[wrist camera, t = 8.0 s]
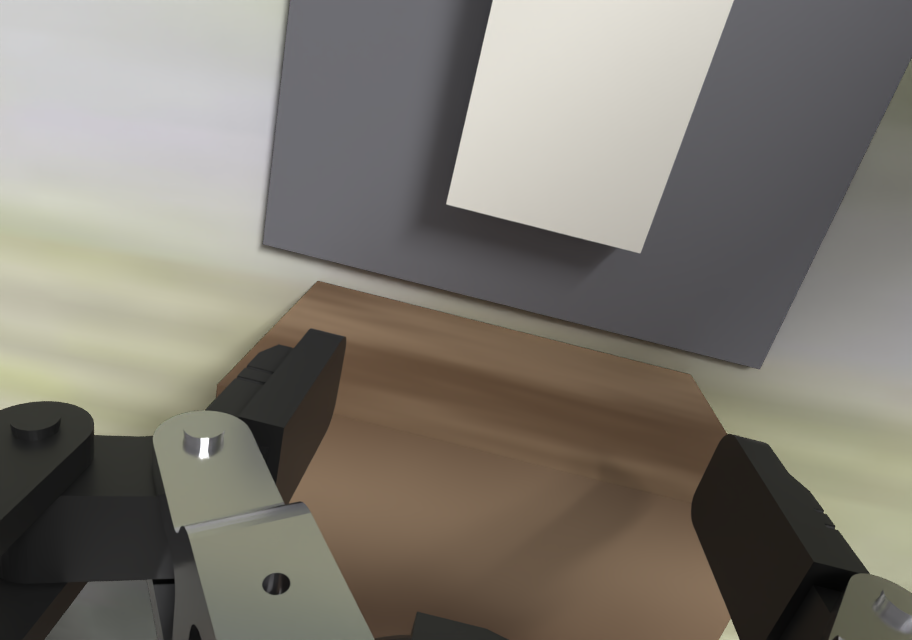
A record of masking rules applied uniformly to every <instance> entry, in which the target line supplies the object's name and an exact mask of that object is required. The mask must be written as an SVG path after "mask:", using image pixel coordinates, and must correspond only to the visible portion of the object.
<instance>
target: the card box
mask: <svg viewBox="0 0 912 640" xmlns="http://www.w3.org/2000/svg"><path fill="white" fill-rule="evenodd" d="M733 1H734V0H493V2H492V6H491V10H490V15H489V19H488V24H487V28H486V32H485V37H484V41H483V45H482V50H481V54H480V58H479V63H478V67H477V72H476V76H475V80H474V85H473V89H472V93H471V98H470V102H469V107H468V111H467V115H466V120H465V124H464V128H463V133H462V137H461V141H460V146H459V150H458V155H457V159H456V163H455V168H454V172H453V176H452V181H451V185H450V190H449V194H448V198H447V203H446V204H447V205H451V206H455V207H459V208H463V209H467V210H470V211H474V212H478V213H482V214H486V215H490V216H494V217H498V218H502V219H506V220H510V221H514V222H518V223H522V224H526V225H530V226H534V227H538V228H542V229H546V230H549V231H553V232H557V233H561V234H565V235H569V236H573V237H577V238H581V239H585V240H589V241H593V242H597V243H601V244H605V245H609V246H613V247H617V248H621V249H625V250H629V251H632V252H636V253H641V251H642V248H643V245H644V243H645V240H646V237H647V234H648V232H649V229H650V226H651V224H652V221H653V218H654V216H655V213H656V210H657V207H658V205H659V202H660V199H661V197H662V194H663V191H664V188H665V186H666V183H667V180H668V178H669V175H670V172H671V169H672V167H673V164H674V161H675V159H676V156H677V153H678V150H679V148H680V145H681V142H682V140H683V137H684V134H685V132H686V129H687V126H688V123H689V121H690V118H691V115H692V113H693V110H694V107H695V104H696V102H697V99H698V96H699V94H700V91H701V88H702V85H703V83H704V80H705V77H706V75H707V72H708V69H709V67H710V64H711V61H712V58H713V56H714V53H715V50H716V48H717V45H718V42H719V39H720V37H721V34H722V31H723V29H724V26H725V23H726V20H727V18H728V15H729V12H730V10H731V7H732V4H733Z"/></svg>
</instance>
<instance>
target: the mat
mask: <svg viewBox="0 0 912 640" xmlns="http://www.w3.org/2000/svg"><path fill="white" fill-rule="evenodd" d="M492 2H493V0H290V5H289V14H288V23H287V32H286V41H285V50H284V59H283V68H282V77H281V86H280V95H279V104H278V113H277V122H276V131H275V140H274V149H273V158H272V167H271V176H270V185H269V194H268V203H267V212H266V221H265V230H264V239H263V244H264V245H268V246H272V247H276V248H280V249H284V250H288V251H292V252H296V253H300V254H304V255H308V256H312V257H316V258H320V259H324V260H328V261H332V262H336V263H340V264H344V265H348V266H351V267H355V268H359V269H363V270H367V271H371V272H375V273H379V274H383V275H387V276H391V277H395V278H399V279H403V280H407V281H411V282H415V283H419V284H423V285H427V286H431V287H435V288H439V289H443V290H447V291H451V292H455V293H459V294H463V295H467V296H471V297H475V298H479V299H483V300H486V301H490V302H494V303H498V304H502V305H506V306H510V307H514V308H518V309H522V310H526V311H530V312H534V313H538V314H542V315H546V316H550V317H554V318H558V319H562V320H566V321H570V322H574V323H578V324H582V325H586V326H590V327H594V328H598V329H602V330H606V331H610V332H614V333H617V334H621V335H625V336H629V337H633V338H637V339H641V340H645V341H649V342H653V343H657V344H661V345H665V346H669V347H673V348H677V349H681V350H685V351H689V352H693V353H697V354H701V355H705V356H709V357H713V358H717V359H721V360H725V361H729V362H733V363H737V364H741V365H745V366H749V367H752V368H756V369H760V368H761V366H762V364H763V362H764V360H765V358H766V356H767V353H768V351H769V349H770V347H771V345H772V343H773V341H774V339H775V337H776V335H777V333H778V331H779V329H780V327H781V325H782V323H783V321H784V319H785V317H786V315H787V312H788V310H789V308H790V306H791V304H792V302H793V300H794V298H795V296H796V294H797V292H798V290H799V288H800V286H801V284H802V282H803V280H804V278H805V276H806V274H807V271H808V269H809V267H810V265H811V263H812V261H813V259H814V257H815V255H816V253H817V251H818V249H819V247H820V245H821V243H822V241H823V239H824V237H825V235H826V232H827V230H828V228H829V226H830V224H831V222H832V220H833V218H834V216H835V214H836V212H837V210H838V208H839V206H840V204H841V202H842V200H843V198H844V196H845V194H846V191H847V189H848V187H849V185H850V183H851V181H852V179H853V177H854V175H855V173H856V171H857V169H858V167H859V165H860V163H861V161H862V159H863V157H864V155H865V153H866V150H867V148H868V146H869V144H870V142H871V140H872V138H873V136H874V134H875V132H876V130H877V128H878V126H879V124H880V122H881V120H882V118H883V116H884V114H885V112H886V109H887V107H888V105H889V103H890V101H891V99H892V97H893V95H894V93H895V91H896V89H897V87H898V85H899V83H900V81H901V79H902V77H903V75H904V73H905V71H906V68H907V66H908V64H909V62H910V60H911V58H912V0H734V1H733V4H732V7H731V10H730V12H729V15H728V18H727V20H726V23H725V26H724V29H723V31H722V34H721V37H720V39H719V42H718V45H717V48H716V50H715V53H714V56H713V58H712V61H711V64H710V67H709V69H708V72H707V75H706V77H705V80H704V83H703V85H702V88H701V91H700V94H699V96H698V99H697V102H696V104H695V107H694V110H693V113H692V115H691V118H690V121H689V123H688V126H687V129H686V132H685V134H684V137H683V140H682V142H681V145H680V148H679V150H678V153H677V156H676V159H675V161H674V164H673V167H672V169H671V172H670V175H669V178H668V180H667V183H666V186H665V188H664V191H663V194H662V197H661V199H660V202H659V205H658V207H657V210H656V213H655V216H654V218H653V221H652V224H651V226H650V229H649V232H648V234H647V237H646V240H645V243H644V245H643V248H642V251H641V253H636V252H632V251H629V250H625V249H621V248H617V247H613V246H609V245H605V244H601V243H597V242H593V241H589V240H585V239H581V238H577V237H573V236H569V235H565V234H561V233H557V232H553V231H549V230H546V229H542V228H538V227H534V226H530V225H526V224H522V223H518V222H514V221H510V220H506V219H502V218H498V217H494V216H490V215H486V214H482V213H478V212H474V211H470V210H467V209H463V208H459V207H455V206H451V205H447V204H446V203H447V198H448V194H449V190H450V185H451V181H452V176H453V172H454V168H455V163H456V159H457V155H458V150H459V146H460V141H461V137H462V133H463V128H464V124H465V120H466V115H467V111H468V107H469V102H470V98H471V93H472V89H473V85H474V80H475V76H476V72H477V67H478V63H479V58H480V54H481V50H482V45H483V41H484V37H485V32H486V28H487V24H488V19H489V15H490V10H491V6H492Z"/></svg>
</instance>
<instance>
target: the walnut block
mask: <svg viewBox="0 0 912 640" xmlns="http://www.w3.org/2000/svg"><path fill="white" fill-rule="evenodd" d="M310 328H313V329H317V330H321V331H325V332H329V333H333V334H337V335H341V336H345V337H346V349H345V355H344V360H343V366H342V371H341V377H340V382H339V388H338V394H337V399H336V404H335V409H334V412H333V416H332V419H331V422H330V425H329V427H328V430H327V432H326V434H325V436H324V438H323V439H322V441H321V443H320V445H319V447H318V449H317V451H316V453H315V455H314V456H313V458H312V460H311V462H310V464H309V466H308V468H307V470H306V472H305V474H304V475H303V477H302V479H301V481H300V483H299V485H298V487H297V489H296V491H295V492H294V494H293V496H292V498H291V500H290V502H289V503H294V502H299V501H301V502H303V503H304V504H306V506H307V507H308V508H309V510H310V512H311V514H312V516H313V518H314V520H315V522H316V524H317V526H318V528H319V530H320V532H321V534H322V536H323V538H324V540H325V542H326V544H327V546H328V548H329V550H330V552H331V554H332V556H333V558H334V560H335V562H336V564H337V566H338V568H339V570H340V571H341V573H342V575H343V577H344V579H345V581H346V583H347V585H348V587H349V589H350V591H351V593H352V595H353V597H354V599H355V601H356V603H357V605H358V607H359V609H360V611H361V613H362V615H363V617H364V619H365V621H366V623H367V625H368V627H369V629H370V631H371V633H372V635H373V637H374V638H378V637H384V636H392V635H410V634H411V630H412V627H413V623H414V620H415V616H416V613H417V612H421V613H425V614H429V615H434V616H438V617H442V618H446V619H450V620H454V621H458V622H462V623H466V624H470V625H474V626H478V627H482V628H486V629H488V630H490V631H492V632H494V633H496V634H498V635H500V636H502V637H504V638H507V639H509V640H719V638H720V636H721V635H722V633H723V631H724V629H725V628H726V626H727V624H728V622H729V621H730V619H731V617H730V615H729V612H728V610H727V607H726V605H725V602H724V600H723V597H722V595H721V593H720V590H719V588H718V585H717V583H716V580H715V578H714V575H713V573H712V571H711V568H710V566H709V563H708V561H707V558H706V556H705V553H704V551H703V548H702V546H701V544H700V541H699V539H698V536H697V534H696V531H695V529H694V526H693V524H692V520H691V505H692V499H693V496H694V493H695V491H696V489H697V487H698V485H699V483H700V481H701V479H702V476H703V474H704V472H705V470H706V468H707V466H708V464H709V462H710V460H711V458H712V456H713V454H714V452H715V450H716V448H717V445H718V444H719V442H720V440H721V439H722V438H723V437H724V436H725V435H727V433H726V431H725V430H724V428H723V426H722V425H721V423H720V422H719V420H718V418H717V417H716V415H715V413H714V412H713V410H712V408H711V407H710V405H709V404H708V402H707V400H706V399H705V397H704V395H703V394H702V392H701V390H700V389H699V387H698V386H697V384H696V382H695V381H694V379H693V377H692V376H691V375H690V374H686V373H682V372H678V371H674V370H670V369H666V368H662V367H658V366H654V365H650V364H646V363H642V362H638V361H634V360H630V359H626V358H622V357H618V356H614V355H610V354H606V353H602V352H598V351H594V350H590V349H586V348H582V347H578V346H574V345H570V344H567V343H563V342H559V341H555V340H551V339H547V338H543V337H539V336H535V335H531V334H527V333H523V332H519V331H515V330H511V329H507V328H503V327H499V326H495V325H491V324H487V323H483V322H479V321H475V320H471V319H467V318H463V317H459V316H455V315H451V314H447V313H443V312H439V311H435V310H431V309H427V308H423V307H419V306H415V305H412V304H408V303H404V302H400V301H396V300H392V299H388V298H384V297H380V296H376V295H372V294H368V293H364V292H360V291H356V290H352V289H348V288H344V287H340V286H336V285H332V284H328V283H324V282H320V281H317V282H316V283H315V284H314V285H313V286H312V287H311V288H310V290H309V291H308V292H307V293H306V294H305V295H304V296H303V297H302V298H301V299H300V300H299V301H298V302H297V303H296V304H295V305H294V306H293V307H292V308H291V309H290V310H289V311H288V312H287V313H286V314H285V315H284V316H283V317H282V318H281V319H280V320H279V321H278V323H277V324H276V325H275V326H274V327H273V328H272V329H271V330H270V331H269V332H268V333H267V334H266V335H265V336H264V337H263V338H262V339H261V340H260V341H259V342H258V343H257V344H256V345H255V346H254V347H253V348H252V349H251V350H250V351H249V352H248V353H247V354H246V355H245V357H244V358H243V359H242V360H241V361H240V362H239V363H238V364H237V365H236V366H235V367H234V368H233V369H232V370H231V371H230V372H229V373H228V374H227V375H226V376H225V377H224V378H223V379H222V380H221V381H220V382H219V383H218V384H217V392H216V398H217V397H218V396H219V395H220V394H221V393H222V392H223V390H224V389H225V388H226V387H227V386H228V385H229V384H230V383H231V382H232V381H233V380H234V379H235V378H237V375H238V374H239V373H240V372H241V371H242V370H243V369H244V368H246V367H247V365H248V364H249V363H250V361H251V360H252V359H253V358H254V357H255V356H256V355H257V354H258V353H259V352H261V351H264V350H266V349H269V348H271V347H273V346H276V345H278V344H280V345H284V346H288V347H292V348H294V347H295V346H296V345H297V344H298V342H299V341H300V340H301V339H302V337H303V336H304V335H305V334H306V332H307V331H308V330H309V329H310Z"/></svg>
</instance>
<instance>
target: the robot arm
mask: <svg viewBox="0 0 912 640" xmlns="http://www.w3.org/2000/svg"><path fill="white" fill-rule="evenodd" d="M345 349H346V337H345V336H341V335H337V334H333V333H329V332H325V331H321V330H317V329H313V328H310V329H309V330H308V331H307V332H306V334H305V335H304V336H303V337H302V339H301V340H300V341H299V342H298V344H297V345H296V346H295V347H294V348H292V347H288V346H284V345H280V344H278V345H276V346H273V347H271V348H269V349H266V350H264V351H261V352H259V353H258V354H257V355H256V356H255V357H254V358H253V359H252V360H251V361H250V363H249V364H248V365H247V367H246V368H244V369H243V370H242V371H241V372H240V373H239V374H238V375H237V378H235V379H234V380H233V381H232V382H231V383H230V384H229V385H228V386H227V387H226V388H225V389H224V390H223V392H222V393H221V394H220V395H219V396H218V397H217V398H216V399H215V400H214V401H213V402H212V403H211V404H210V405H209V407H208V408H207V409H206V410H205V411H192V412H186V413H182V414H179V415H176V416H173V417H171V418H169V419H167V420H166V421H164V422H163V423H162V424H160V425H159V427H158V428H157V429H156V430H155V432H154V435H153V436H146V437H131V436H102V435H94V422H93V418H92V417H91V415H90V414H89V413H88V412H87V411H85V410H84V409H82V408H80V407H78V406H75V405H72V404H68V403H62V402H52V401H41V402H30V403H24V404H19V405H15V406H11V407H8V408H5V409H2V410H0V640H44V639H45V638H46V636H47V635H48V634H49V632H50V631H51V630H52V629H53V627H54V626H55V625H56V623H57V622H58V621H59V619H60V618H61V617H62V615H63V614H64V613H65V611H66V610H67V609H68V607H69V606H70V605H71V603H72V602H73V601H74V599H75V598H76V597H77V595H78V594H79V593H80V591H81V590H82V589H83V588H84V586H85V585H86V584H87V582H91V581H120V580H147V584H148V590H149V595H150V601H151V606H152V612H153V617H154V623H155V628H156V634H157V639H158V640H509V639H507V638H504V637H502V636H500V635H498V634H496V633H494V632H492V631H490V630H488V629H486V628H482V627H478V626H474V625H470V624H466V623H462V622H458V621H454V620H450V619H446V618H442V617H438V616H434V615H429V614H425V613H421V612H417V613H416V616H415V620H414V623H413V627H412V630H411V634H410V635H392V636H384V637H378V638H374V637H373V635H372V633H371V631H370V629H369V627H368V625H367V623H366V621H365V619H364V617H363V615H362V613H361V611H360V609H359V607H358V605H357V603H356V601H355V599H354V597H353V595H352V593H351V591H350V589H349V587H348V585H347V583H346V581H345V579H344V577H343V575H342V573H341V571H340V570H339V568H338V566H337V564H336V562H335V560H334V558H333V556H332V554H331V552H330V550H329V548H328V546H327V544H326V542H325V540H324V538H323V536H322V534H321V532H320V530H319V528H318V526H317V524H316V522H315V520H314V518H313V516H312V514H311V512H310V510H309V508H308V507H307V506H306V504H304V503H303V502H301V501H299V502H294V503H289V502H290V500H291V498H292V496H293V494H294V492H295V491H296V489H297V487H298V485H299V483H300V481H301V479H302V477H303V475H304V474H305V472H306V470H307V468H308V466H309V464H310V462H311V460H312V458H313V456H314V455H315V453H316V451H317V449H318V447H319V445H320V443H321V441H322V439H323V438H324V436H325V434H326V432H327V430H328V427H329V425H330V422H331V419H332V416H333V412H334V409H335V404H336V399H337V394H338V388H339V382H340V377H341V371H342V366H343V360H344V355H345ZM823 512H824V510H823V509H822V507H821V506H820V505H819V503H818V502H817V500H816V499H815V498H814V496H813V495H812V494H811V492H810V491H809V490H808V489H806V488H805V487H804V486H803V485H802V484H801V483H800V482H798V481H797V480H796V479H795V478H794V477H793V476H791V475H790V474H789V473H788V471H787V470H786V469H785V467H784V466H783V464H782V463H781V461H780V460H779V459H778V457H777V456H776V454H775V453H774V452H773V450H772V449H771V447H770V446H769V445H768V444H766V443H764V442H760V441H756V440H752V439H748V438H744V437H740V436H736V435H732V434H728V435H725V436H724V437H723V438H722V439H721V440H720V442H719V444H718V445H717V448H716V450H715V452H714V454H713V456H712V458H711V460H710V462H709V464H708V466H707V468H706V470H705V472H704V474H703V476H702V479H701V481H700V483H699V485H698V487H697V489H696V491H695V493H694V496H693V499H692V505H691V520H692V524H693V526H694V529H695V531H696V534H697V536H698V539H699V541H700V544H701V546H702V548H703V551H704V553H705V556H706V558H707V561H708V563H709V566H710V568H711V571H712V573H713V575H714V578H715V580H716V583H717V585H718V588H719V590H720V593H721V595H722V597H723V600H724V602H725V605H726V607H727V610H728V612H729V615H730V617H731V619H732V622H733V624H734V627H735V629H736V632H737V634H738V637H739V639H740V640H912V593H911V592H909V591H908V590H906V589H904V588H903V587H901V586H899V585H897V584H895V583H893V582H891V581H889V580H887V579H884V578H882V577H879V576H875V575H872V574H870V573H869V572H868V571H867V569H866V568H865V566H864V565H863V564H862V562H861V561H860V560H859V558H858V557H857V555H856V554H855V553H854V551H853V550H852V549H851V547H850V546H849V544H848V543H847V542H846V540H845V539H844V538H843V536H842V535H841V533H840V532H839V531H838V530H835V525H834V524H833V522H832V521H831V520H830V518H829V517H828V516H827V514H823Z"/></svg>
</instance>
